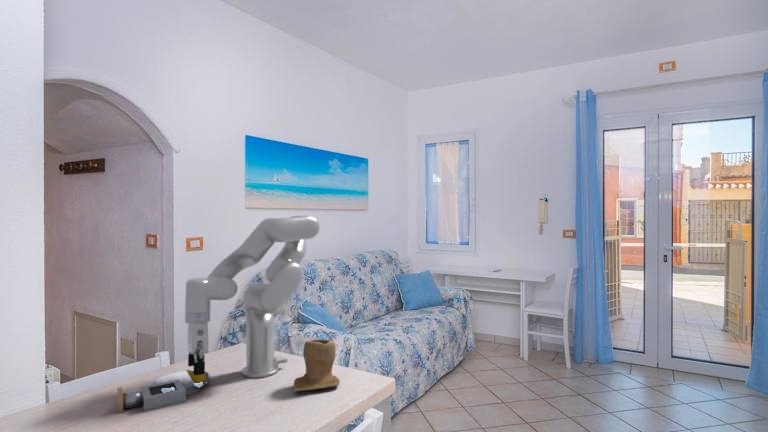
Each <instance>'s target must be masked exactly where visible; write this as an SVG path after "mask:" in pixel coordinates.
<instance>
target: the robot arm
mask: <svg viewBox="0 0 768 432" xmlns="http://www.w3.org/2000/svg"><path fill="white" fill-rule="evenodd" d="M320 227H321V226H320V223H319V220H318V219H317V218H315V217H314V216H312V215H293V216H290V217H283V218H282V217H281V218H280V217H277V218H276V217H267V218H265V219H264V220H261V221H260V223H258V225H257V226H256V227H255V229H254V230H253V231H252V232H251V233H250V234H249V235H248V236H247V237H246V239H245V240H244V241H243V243H242V244H241V245H240V246H239V247H238V248H237V249H235V250H233V251H232V252H231V253H230V254H229V255H228V256H226V257H225V258H224V259H222V261H221V262H219V263H218V264H217V265H216V267H214V269H213V270H212V271H211V273H209V275H208V276H207V278H205V277H195V278H189V279H188V280H187V281H186V283H185V301H184V302H185V306H184V311H185V312H184V324H188V325H187V348H188V349H187V350H188V356H187V357H188V358H187V366H188V367H193V371H194V372H193V374H194V375H201V374H204V373H205V372H206V369H205V368H206V358H205V354H208V353H209V326H208V325H209V324H208V323H209V322H210V321H211V301H228V300H231V299H233V298H234V297H235V296H236V295H237V293H238V288H239V287H238V284H237V283H236V281H235V280H234V278H235V277H236V276H237V275H239V274H240V273H241V272H242V271H244V270H245V269H248V268H251V267H253V266H255V265H257V264H259V263H260V262H261V260H262V259H263V258H264V257H265V255H266V254H267V253H268V252H269V251H270V249H271V248H272V247H273V246H274V244H275V243H284V245H283V247H282V248H281V250H280V252H278V254H276V256H275V258H274V259H273V260H272V261H271V262H270V264H269V265H268V266H267V267H266V270H265V272H264V274H265V278H266V280H267V282H268V283H269V284H268V283H265V282H255V283H251V284H250V285H249V286H248V287H247V288H246V289H245V291H244V294H243V305H244V311H245V313H244V314H245V323H246V324H245V327H246V328H245V329H246V330H245V334H246V335H245V337H246V339H245V340H246V341H245V342H246V343H245V345H246V346H245V347H246V350H245V351H246V353H245V354H246V357H245V358H246V362H245V363H246V366H244V367H243V368H242V369H241V374H242V376H244V377H247V378H251V379H253V378H256V379H257V378H265V377H270V376H273V375H274V374H277V372H278V371H279V368H280V367H279V365H280V364H286V363H288V357H287V356H283V357H282V356H278V357H276V356H275V320H274V319H275V317H274V314H276V313H278V312H280V311H281V310H282V309H283V308H284V307H285V305H286V304H287V303H288V302H289V301H290V299H291V297H293V295H294V294H295V292H296V290H298V289H299V286H300V285H301V284H302V280H303V278H304V277H303V276H304V271H303V268H302V266H301V265H300V264H301V263H302V261H303V260H304V257H305V255H306V253H307V240H311V239H313V238H315V237H316V236H317V235H318V234H319V231H320Z"/></svg>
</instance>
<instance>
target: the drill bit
mask: <svg viewBox="0 0 768 432" xmlns="http://www.w3.org/2000/svg"><path fill="white" fill-rule="evenodd" d="M186 372H187V374H188V376H189V377H190V379H191V381H192V384H193V383H200V382H203V387H204V386H205V385H207V384H206V382H207V383H208V384H209V382H210V381H211V379H210V375H209V373H208V372H207V371H205V373H204V374H201V375H194V374H193V372H194V370H190V369H186Z"/></svg>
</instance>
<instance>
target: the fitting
mask: <svg viewBox="0 0 768 432" xmlns="http://www.w3.org/2000/svg"><path fill="white" fill-rule="evenodd" d="M171 387H174V388H175V391H170V392H166V393H163V392H162V391H161V389H162V388H171ZM123 390H124V389H123V386H121V387H117V389H116V391H117V392H116V394H117V397H116V399H117V414H121V413H122V414H123V413H124V410H125V409H129V408H134V407H139V406H142V410H143V412H144V413H145V412H149V411H154V410H158V409H163V408H167V407H171V406H175V405H181V404H185V403H186V401H187V400H186V399H187V398H186V397H187V396H186V395H187V394H186V392H187V391H186V389H185V387H184V385H183V383H182V381H181V379H179V378H178V379H174V380H169V381H163V382H159V383H154V384H148V385H144V386H140V389H137V390H132V391H131V390H130V391H126V392H123Z"/></svg>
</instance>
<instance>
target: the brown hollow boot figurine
mask: <svg viewBox="0 0 768 432" xmlns="http://www.w3.org/2000/svg"><path fill="white" fill-rule="evenodd" d="M302 354H303V359H304V363H305V373H304V375H302V376H299V377H296V378H295V379H294V380H293V391H294V392H303V391H305V392H306V391H313V390H320V389H327V388H328V389H329V388H333V387H338V386H339V385H340V384H341V383H340V382H341V381H340V379H339V378H338V377H337V376H335V375H333V366H334V362H335V358H336V343H335V342H334V340H331V339H320V338H319V339H318V338H317V339H308V340H306V341H305V342H304V346H303V353H302Z"/></svg>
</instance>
